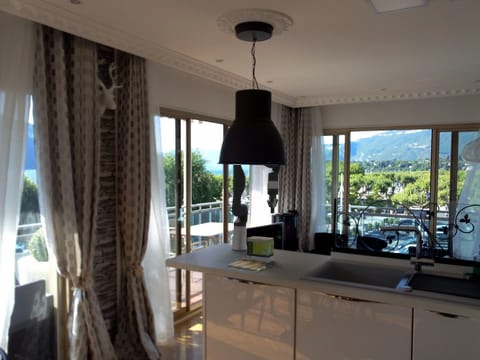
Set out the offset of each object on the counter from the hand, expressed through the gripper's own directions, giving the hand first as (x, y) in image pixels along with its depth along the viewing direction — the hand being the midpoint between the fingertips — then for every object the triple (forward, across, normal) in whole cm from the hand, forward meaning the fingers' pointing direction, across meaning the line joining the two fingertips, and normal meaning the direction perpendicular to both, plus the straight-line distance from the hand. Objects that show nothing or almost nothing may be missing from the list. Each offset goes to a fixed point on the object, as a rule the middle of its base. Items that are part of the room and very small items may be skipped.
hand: (272, 213), depth 270 cm
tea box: (+29, +16, 0) cm, 33 cm away
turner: (+29, +33, +12) cm, 46 cm away
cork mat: (+29, +32, 0) cm, 43 cm away
